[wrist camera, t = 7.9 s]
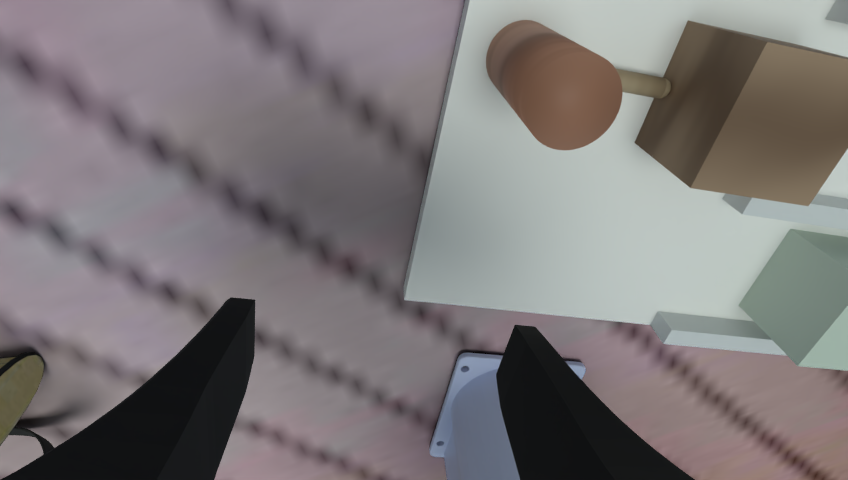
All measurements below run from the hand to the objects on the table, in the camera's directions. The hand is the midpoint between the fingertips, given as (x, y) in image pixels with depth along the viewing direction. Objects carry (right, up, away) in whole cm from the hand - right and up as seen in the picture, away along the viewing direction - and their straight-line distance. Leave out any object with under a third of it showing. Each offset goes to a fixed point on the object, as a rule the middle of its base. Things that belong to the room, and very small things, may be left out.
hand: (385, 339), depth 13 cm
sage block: (+21, +1, +13) cm, 25 cm away
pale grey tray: (+14, +6, +10) cm, 18 cm away
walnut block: (+10, +9, +6) cm, 15 cm away
